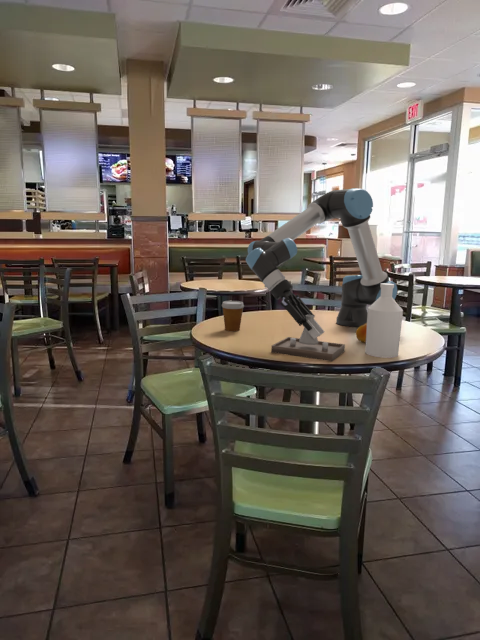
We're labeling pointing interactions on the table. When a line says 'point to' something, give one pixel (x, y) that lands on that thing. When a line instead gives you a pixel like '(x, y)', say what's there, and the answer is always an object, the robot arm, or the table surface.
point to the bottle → (384, 325)
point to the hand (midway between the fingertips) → (319, 335)
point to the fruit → (361, 333)
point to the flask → (305, 335)
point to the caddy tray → (308, 349)
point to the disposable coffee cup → (232, 315)
